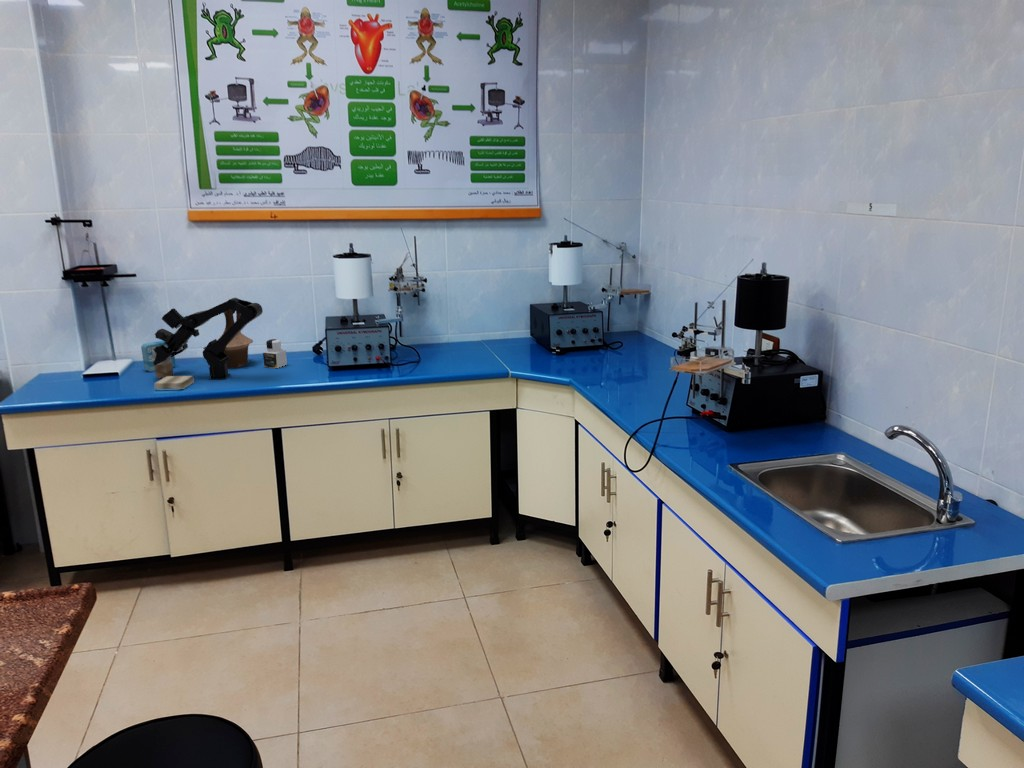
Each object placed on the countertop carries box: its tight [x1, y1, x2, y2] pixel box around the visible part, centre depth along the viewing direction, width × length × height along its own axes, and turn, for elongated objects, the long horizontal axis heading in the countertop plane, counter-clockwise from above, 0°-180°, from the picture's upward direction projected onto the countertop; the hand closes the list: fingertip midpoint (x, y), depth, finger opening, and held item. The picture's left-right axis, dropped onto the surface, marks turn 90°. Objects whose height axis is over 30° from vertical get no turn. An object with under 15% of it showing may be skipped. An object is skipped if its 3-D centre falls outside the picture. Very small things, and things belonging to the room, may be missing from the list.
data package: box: [140, 340, 176, 373], centre depth 336 cm, size 12×4×12 cm, turn 135°
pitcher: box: [216, 309, 254, 369], centre depth 340 cm, size 18×17×28 cm
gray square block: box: [152, 350, 174, 378], centre depth 324 cm, size 5×5×12 cm
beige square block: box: [153, 375, 195, 391], centre depth 310 cm, size 11×11×3 cm
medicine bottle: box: [262, 338, 288, 369], centre depth 339 cm, size 7×7×12 cm
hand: (159, 361), depth 323 cm, fingers open, 9 cm apart
